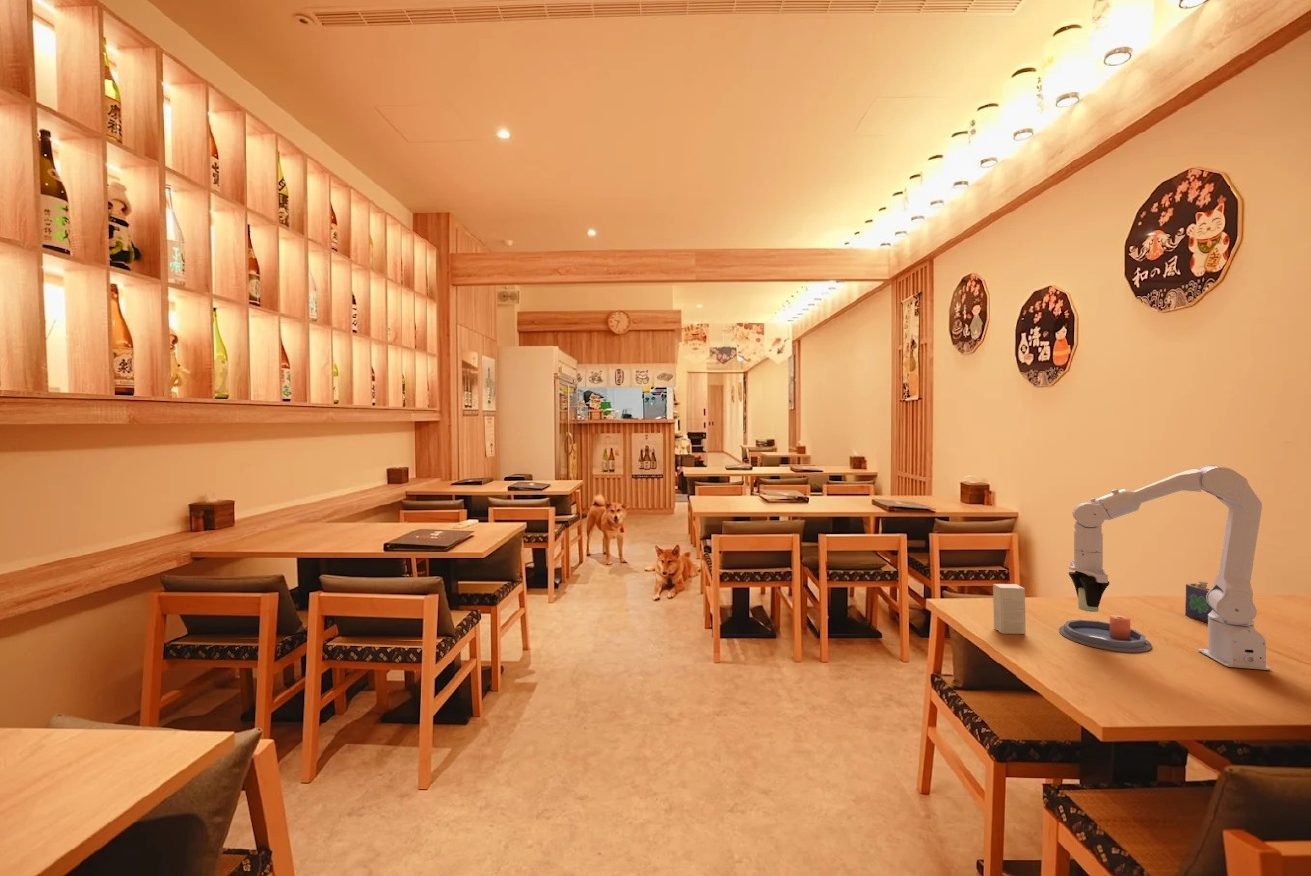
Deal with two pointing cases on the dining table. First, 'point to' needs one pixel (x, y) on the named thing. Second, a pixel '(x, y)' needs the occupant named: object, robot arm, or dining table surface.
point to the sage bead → (1084, 602)
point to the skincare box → (1009, 608)
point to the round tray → (1103, 636)
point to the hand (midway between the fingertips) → (1088, 603)
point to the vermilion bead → (1120, 627)
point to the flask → (1197, 601)
